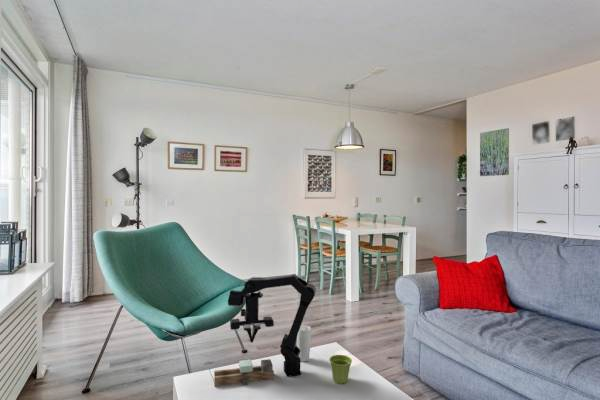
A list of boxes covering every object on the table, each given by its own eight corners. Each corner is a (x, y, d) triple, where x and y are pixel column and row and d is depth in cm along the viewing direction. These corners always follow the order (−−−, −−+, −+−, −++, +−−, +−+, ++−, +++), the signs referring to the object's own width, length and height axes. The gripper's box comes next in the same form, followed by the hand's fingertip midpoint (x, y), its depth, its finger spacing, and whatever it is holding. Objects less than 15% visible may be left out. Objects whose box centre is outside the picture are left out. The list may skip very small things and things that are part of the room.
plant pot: (354, 377, 150) (354, 357, 150) (347, 388, 142) (348, 366, 142) (333, 373, 154) (333, 353, 154) (326, 383, 146) (326, 361, 146)
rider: (251, 369, 152) (251, 359, 152) (252, 376, 146) (252, 365, 146) (239, 371, 150) (239, 360, 150) (240, 377, 145) (240, 366, 145)
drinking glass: (309, 363, 163) (309, 331, 163) (295, 362, 164) (295, 329, 164) (311, 357, 170) (312, 325, 170) (298, 355, 171) (298, 324, 171)
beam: (270, 371, 156) (270, 357, 156) (274, 381, 147) (274, 366, 147) (214, 377, 150) (214, 363, 150) (214, 388, 141) (214, 373, 141)
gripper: (269, 300, 167) (269, 333, 167) (229, 303, 162) (229, 337, 162) (274, 307, 156) (273, 343, 156) (231, 310, 152) (230, 347, 152)
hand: (251, 342), depth 157 cm, fingers closed
